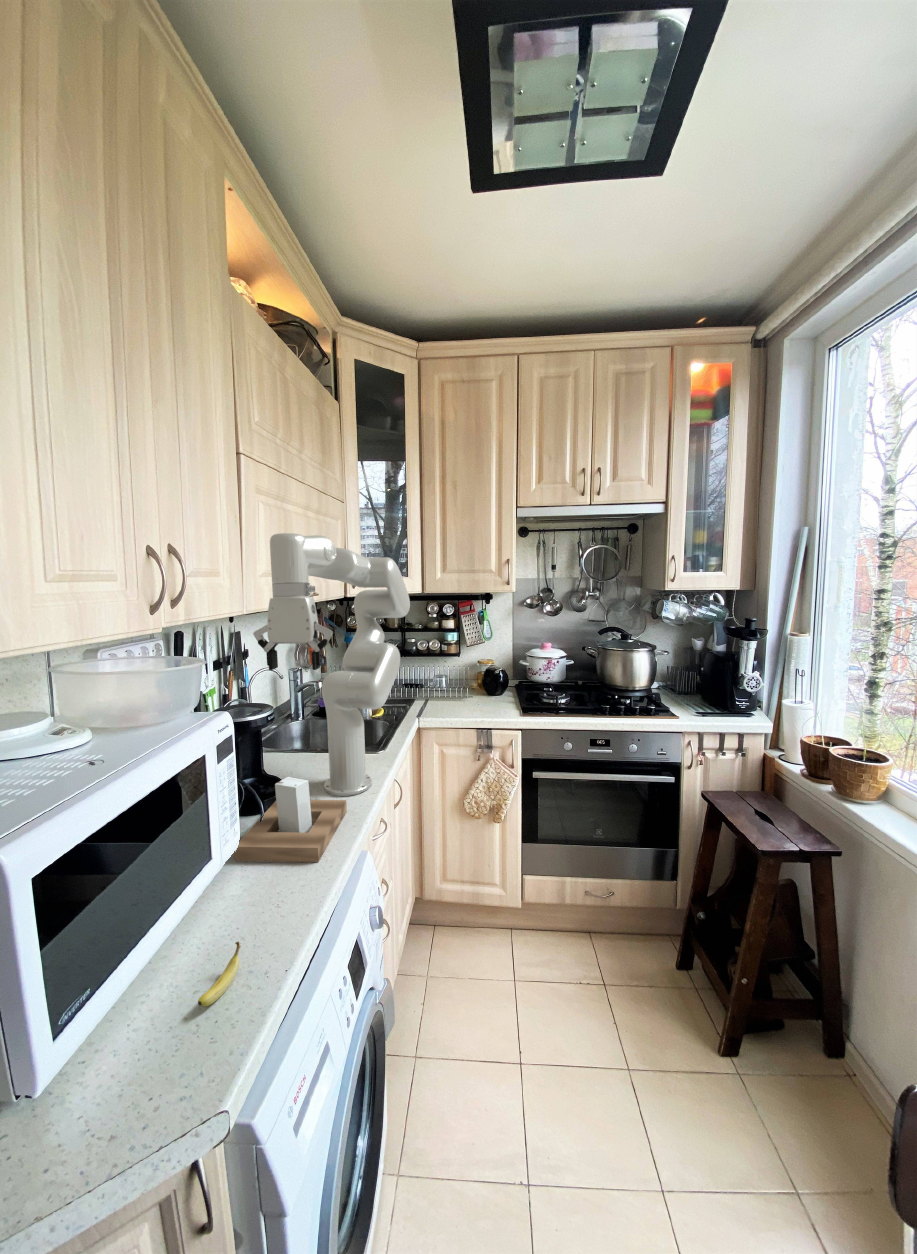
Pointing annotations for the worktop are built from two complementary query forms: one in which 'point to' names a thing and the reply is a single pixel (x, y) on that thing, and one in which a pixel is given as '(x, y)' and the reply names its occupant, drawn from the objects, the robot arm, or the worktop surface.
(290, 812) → the skincare box
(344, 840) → the worktop surface
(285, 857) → the socket block
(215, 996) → the banana
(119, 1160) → the worktop surface
